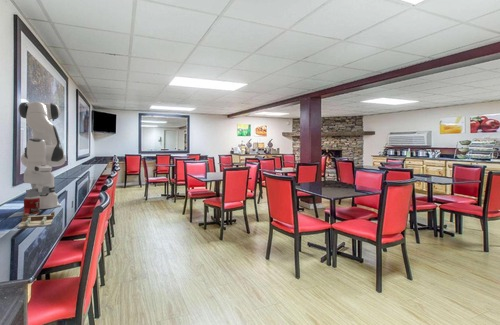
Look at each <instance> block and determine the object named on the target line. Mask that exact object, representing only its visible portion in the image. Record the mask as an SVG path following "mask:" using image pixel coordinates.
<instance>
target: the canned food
mask: <svg viewBox="0 0 500 325" xmlns="http://www.w3.org/2000/svg"><path fill="white" fill-rule="evenodd" d="M40 211H41V209H40V197H39V196H35V197H31V198H29V197H27V196H24V197H23V215H24V214H25V213H28V215H36V214H39V213H40Z"/></svg>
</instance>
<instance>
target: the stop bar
mask: <svg viewBox="0 0 500 325" xmlns="http://www.w3.org/2000/svg"><path fill="white" fill-rule="evenodd" d="M37 189H38V188H34V189H32V188H29V189H25V193H26V197H29V198H31V197H35V196H39V195H44V194H48V193H50V192H49V186H44V187H43V188H42V192H37Z"/></svg>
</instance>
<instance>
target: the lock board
mask: <svg viewBox="0 0 500 325" xmlns="http://www.w3.org/2000/svg"><path fill="white" fill-rule="evenodd" d="M55 212H56V211H55V210H54V211H50V214H41V215H39V214H38V215H29V214H28V213H25V214H24V213H23V217H21V222H20V223H19V225H17V230H23V229H24V230H26V229H34V228H44V227H52V223H53V220H54V219H55V216H56V213H55Z"/></svg>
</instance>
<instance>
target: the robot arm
mask: <svg viewBox="0 0 500 325" xmlns="http://www.w3.org/2000/svg"><path fill="white" fill-rule="evenodd" d="M17 112H18V114H19V115H20V117H21V118H23V119H26V125H27V126H28V127H29V128H30V129H31V130H32V138H29V139H27V145H26V147H25V148H24V152H23V153H22V155H21V158H20V162H21V163H22V165H23V166H24V167H25V168H26V169H25V170H24V172H23V182H24V184H30V187H31V189H34V188H38V189H37V192H42V188H43V187H44V186H49V192H50V193H48V194H44V195H39V197H40V210H47V209H54V208H58V207H61V206H62V205H61V203H59V198H58V194H57V193H56V186H55V176H54V174H53V173H52V172H51V171H52V170H53V167H54V168H55V167H60V166H63V165H64V164H65V163H66V160H67V158H66V155H65V151H64V149H63V146H62V143H61V141H60V137H59V133H58V130H57V127H56V125H55V124H53V123H52V122H54V121H55V120H57V119H58V118H59V116H60V114H61V109H60V108H59V106H58V105H57V104H56V103H53V102H51V103H49V102H40V101H33V102H27V101H26V102H22V103H19V105H18V109H17ZM51 120H52V121H51Z"/></svg>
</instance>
